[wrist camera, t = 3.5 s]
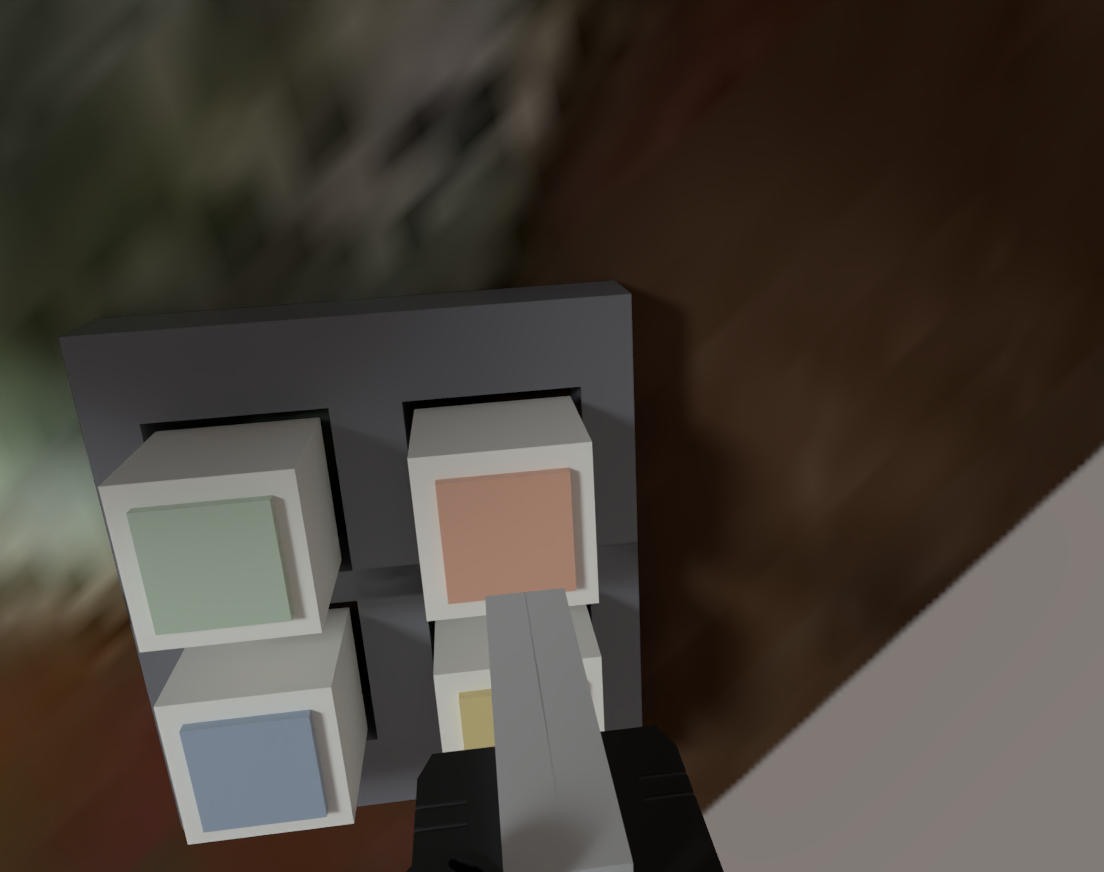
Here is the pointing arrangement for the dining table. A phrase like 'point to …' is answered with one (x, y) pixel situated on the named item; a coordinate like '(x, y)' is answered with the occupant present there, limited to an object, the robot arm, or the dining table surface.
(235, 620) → the sage key
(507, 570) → the terracotta key
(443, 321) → the keypad board
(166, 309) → the dining table surface
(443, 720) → the mustard key
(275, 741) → the slate key
